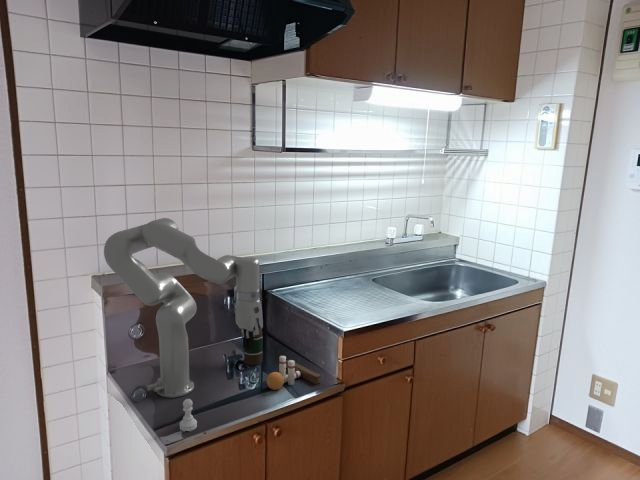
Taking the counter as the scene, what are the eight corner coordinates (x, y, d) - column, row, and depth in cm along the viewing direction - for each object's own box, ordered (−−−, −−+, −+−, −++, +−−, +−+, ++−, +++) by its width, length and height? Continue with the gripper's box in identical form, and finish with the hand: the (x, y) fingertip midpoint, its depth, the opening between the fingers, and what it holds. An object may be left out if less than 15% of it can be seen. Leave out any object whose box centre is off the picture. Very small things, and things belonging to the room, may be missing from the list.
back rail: (316, 384, 176) (316, 376, 176) (285, 368, 189) (285, 361, 189) (320, 383, 177) (320, 375, 177) (289, 366, 191) (289, 359, 190)
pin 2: (290, 386, 175) (290, 363, 173) (286, 383, 177) (286, 361, 175) (295, 383, 176) (296, 361, 175) (291, 381, 178) (291, 359, 177)
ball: (289, 384, 172) (276, 396, 171) (282, 373, 176) (269, 384, 176) (281, 376, 168) (267, 388, 167) (274, 365, 173) (260, 377, 172)
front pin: (282, 378, 175) (301, 372, 181) (278, 376, 177) (296, 369, 182) (282, 385, 176) (300, 378, 181) (278, 382, 177) (296, 375, 183)
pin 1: (281, 381, 178) (282, 359, 177) (277, 378, 180) (277, 356, 179) (287, 379, 180) (287, 357, 179) (283, 376, 182) (283, 355, 180)
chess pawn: (190, 421, 151) (189, 393, 149) (200, 427, 147) (199, 399, 146) (176, 427, 147) (175, 399, 145) (186, 433, 144) (185, 405, 142)
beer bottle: (259, 366, 190) (259, 307, 186) (240, 364, 192) (239, 305, 188) (265, 359, 198) (265, 301, 194) (247, 357, 199) (247, 300, 195)
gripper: (270, 298, 158) (270, 351, 162) (245, 288, 169) (245, 339, 172) (251, 302, 154) (251, 357, 157) (226, 292, 164) (226, 344, 167)
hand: (248, 347), depth 165 cm, fingers closed
